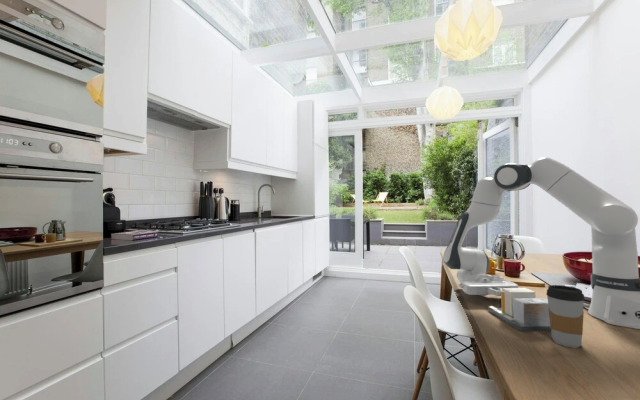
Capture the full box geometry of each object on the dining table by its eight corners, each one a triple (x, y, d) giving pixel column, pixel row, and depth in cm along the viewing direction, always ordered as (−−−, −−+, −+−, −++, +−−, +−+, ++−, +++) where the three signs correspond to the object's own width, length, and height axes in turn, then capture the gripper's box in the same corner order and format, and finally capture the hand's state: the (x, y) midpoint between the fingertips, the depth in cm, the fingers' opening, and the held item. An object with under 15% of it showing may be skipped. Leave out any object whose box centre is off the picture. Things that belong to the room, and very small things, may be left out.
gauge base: (488, 310, 108) (487, 287, 109) (521, 310, 108) (520, 287, 108) (520, 331, 90) (520, 303, 91) (560, 331, 90) (559, 303, 91)
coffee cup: (548, 333, 89) (546, 283, 89) (585, 341, 84) (583, 287, 84) (547, 343, 82) (545, 289, 83) (587, 352, 77) (585, 294, 77)
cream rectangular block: (496, 310, 104) (495, 287, 104) (524, 310, 104) (523, 287, 104) (506, 316, 98) (506, 292, 98) (536, 316, 98) (535, 292, 98)
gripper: (456, 276, 125) (472, 285, 111) (505, 276, 124) (528, 285, 111) (456, 291, 125) (473, 302, 111) (505, 291, 124) (528, 302, 110)
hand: (501, 293), depth 111 cm, fingers closed
